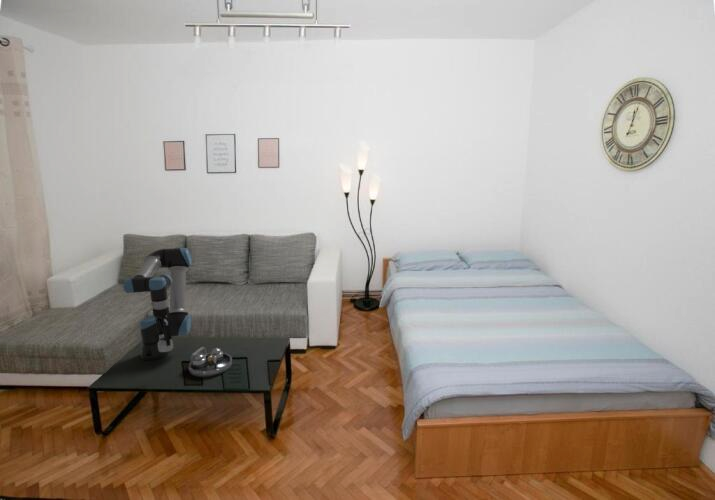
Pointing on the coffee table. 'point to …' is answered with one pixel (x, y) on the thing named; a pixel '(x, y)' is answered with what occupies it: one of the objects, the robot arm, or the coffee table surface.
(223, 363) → the carrier
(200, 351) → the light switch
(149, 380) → the coffee table surface
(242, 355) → the coffee table surface
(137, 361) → the coffee table surface
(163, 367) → the coffee table surface
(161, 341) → the grey nut
